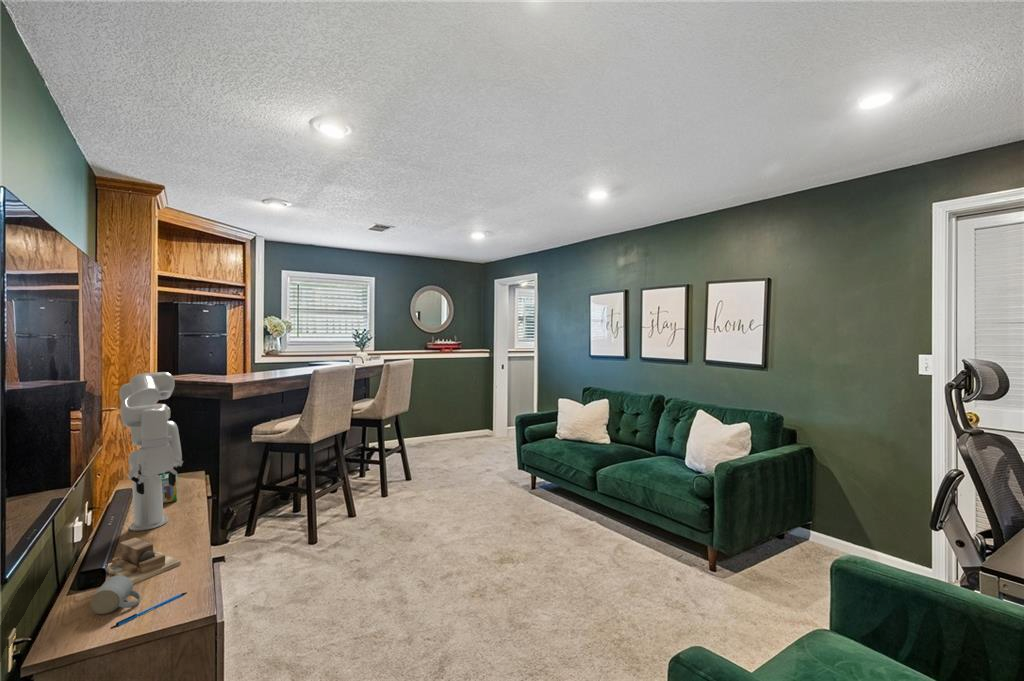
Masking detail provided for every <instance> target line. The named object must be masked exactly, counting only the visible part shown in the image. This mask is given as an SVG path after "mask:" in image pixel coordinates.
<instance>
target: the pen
mask: <svg viewBox="0 0 1024 681" xmlns="http://www.w3.org/2000/svg"><path fill="white" fill-rule="evenodd" d="M186 594H188V592H187V591H186V592H183V593H179V594H177V595H174V596H173V597H170V598H169V599H166V600H164V601H163V602H160V603H157V604H156V605H154V606H151V607H149V608H147V609H145V610H143V611H140V612H138V613H134V614H132V615H130V616H129V617H126V618H124V619H121V620H120V621H118V622H116V623H115V625H113V626H111V627H110V629H111V630H112V629H115V627H119V626H121V625H123V624H125V623H127V622H129V621H132V620H134V619H136V618H138V617H140V616H139V615H141V616H142V614H143V613H145V612H147V611H149V610H151V609H153V608H155V609H157V608H156V607H158V608H159V606H160V607H161V606H164V605H165V604H168V603H170V602H172V601H174V600H177V599H179V598H181V597H183V596H185V595H186ZM153 610H154V609H153ZM151 611H152V610H151ZM149 612H150V611H149ZM147 613H148V612H147ZM145 614H146V613H145ZM143 615H144V614H143ZM137 616H138V617H137Z"/></svg>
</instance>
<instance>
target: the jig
mask: <svg viewBox="0 0 1024 681" xmlns="http://www.w3.org/2000/svg"><path fill="white" fill-rule="evenodd" d="M153 552H154V554H155V557H154V558H151V559H148V560H146V561H143V562H140V563H139V568H138V567H137V566H135V565H133V564H130V563H128V562H126V561H124V560H122V559H121V558H120V557H114V558H111V562H110V563H107V564H108V567H107V571H108V572H107V573H109V574H111V575H113V576H117V575H122V576H125V577H127V578H129V579H130V580H131V581H132V583H133V585H134V584H136V583H139V582H141V581H143V580H144V581H145V580H146V579H149V578H151V577H153V576H156V575H159V574H161V573H163V572H166V571H169V570H171V569H173V568H175V567H178V566H180V565H182V564H181V560H179V559H177V558H174V557H172V556H170V555H168V554H165V553H162V552H160V551H157V550H155V549H153Z"/></svg>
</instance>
